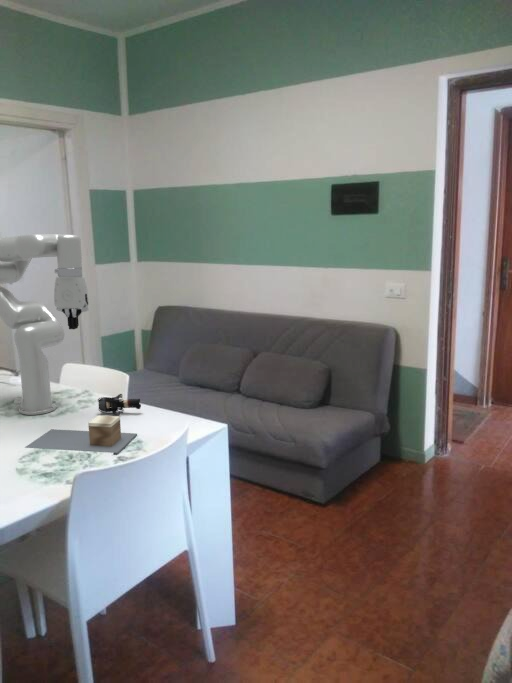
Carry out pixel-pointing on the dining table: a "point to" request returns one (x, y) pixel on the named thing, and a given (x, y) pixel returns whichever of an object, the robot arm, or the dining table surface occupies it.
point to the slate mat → (78, 441)
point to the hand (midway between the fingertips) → (73, 328)
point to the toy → (117, 404)
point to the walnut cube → (104, 430)
